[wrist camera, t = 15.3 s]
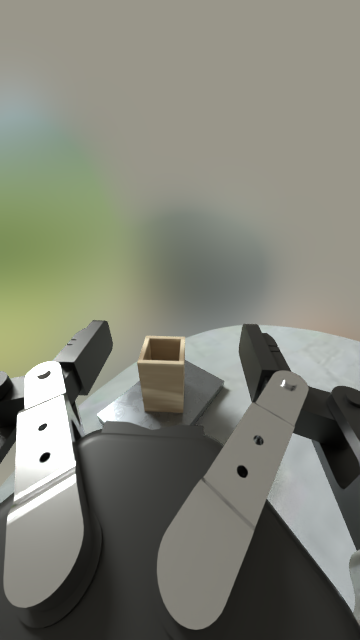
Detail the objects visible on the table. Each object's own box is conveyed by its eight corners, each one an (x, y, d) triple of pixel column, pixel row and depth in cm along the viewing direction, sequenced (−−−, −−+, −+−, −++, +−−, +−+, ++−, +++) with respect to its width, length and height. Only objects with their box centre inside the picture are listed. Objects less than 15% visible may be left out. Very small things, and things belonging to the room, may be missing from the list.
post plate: (173, 359, 43) (172, 329, 39) (223, 386, 37) (228, 354, 33) (99, 420, 31) (87, 386, 27) (153, 477, 25) (148, 443, 21)
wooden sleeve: (151, 381, 36) (146, 335, 31) (184, 382, 36) (185, 336, 31) (144, 411, 31) (137, 362, 26) (183, 412, 31) (183, 364, 26)
